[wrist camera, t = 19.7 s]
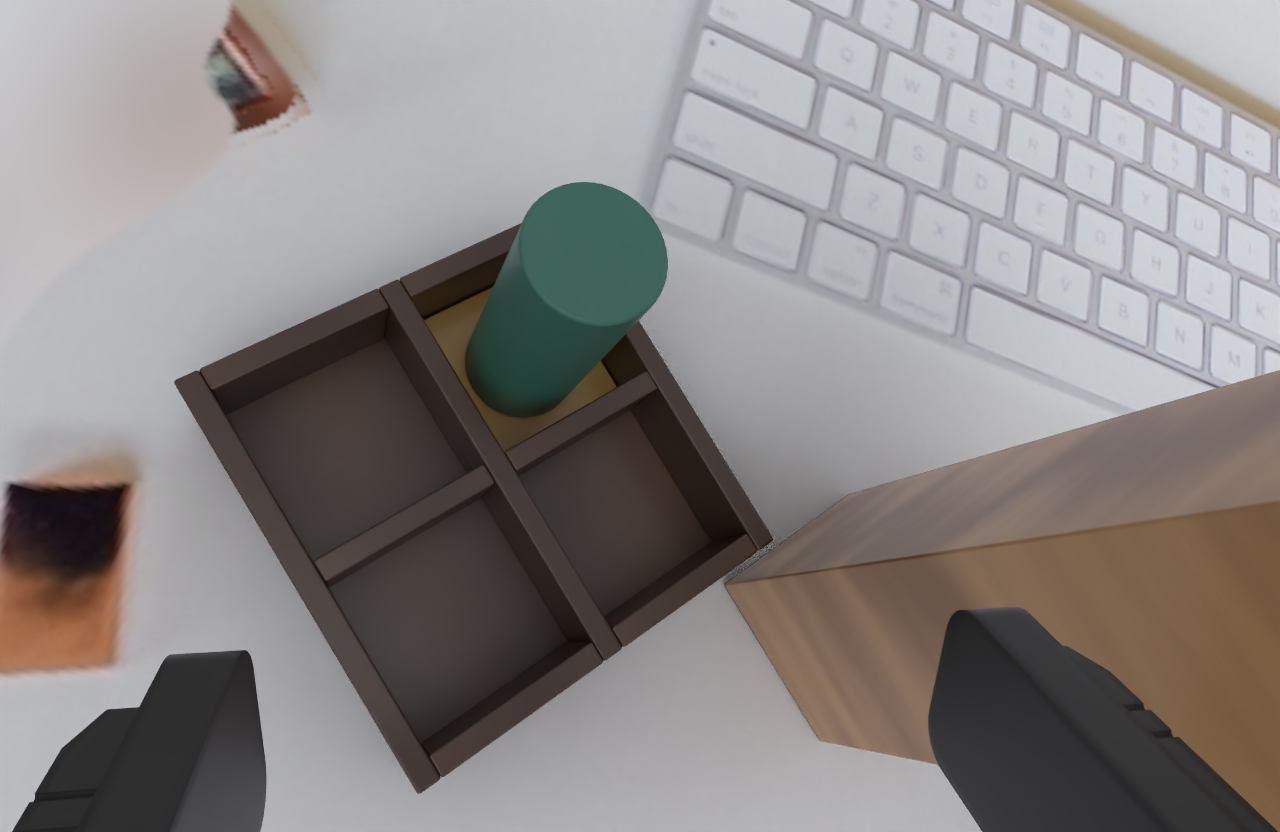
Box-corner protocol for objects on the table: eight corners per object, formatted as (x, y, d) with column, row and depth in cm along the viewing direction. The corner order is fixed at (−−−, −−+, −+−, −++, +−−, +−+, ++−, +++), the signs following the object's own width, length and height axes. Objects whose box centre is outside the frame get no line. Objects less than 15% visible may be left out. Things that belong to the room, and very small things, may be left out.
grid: (408, 776, 23) (418, 795, 20) (192, 412, 23) (172, 380, 20) (728, 550, 27) (774, 539, 24) (542, 247, 27) (566, 202, 25)
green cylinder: (501, 438, 25) (573, 352, 17) (443, 341, 25) (489, 215, 18) (594, 386, 26) (696, 285, 19) (538, 294, 26) (617, 158, 19)
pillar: (819, 741, 27) (2365, 1056, 6) (723, 584, 27) (1924, 405, 7) (939, 637, 29) (2376, 626, 9) (849, 493, 29) (2044, 146, 9)
